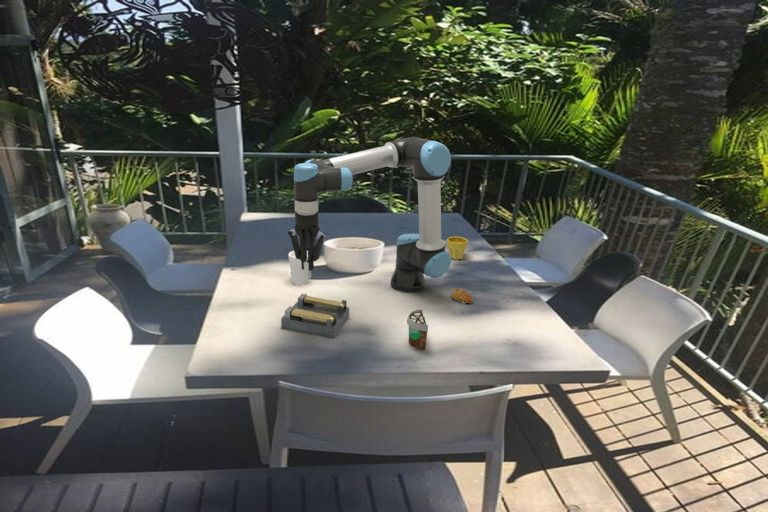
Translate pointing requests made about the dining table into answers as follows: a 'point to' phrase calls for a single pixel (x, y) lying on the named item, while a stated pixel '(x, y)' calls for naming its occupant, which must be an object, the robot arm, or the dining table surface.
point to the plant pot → (457, 247)
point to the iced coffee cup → (417, 329)
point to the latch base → (315, 325)
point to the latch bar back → (323, 302)
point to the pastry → (461, 296)
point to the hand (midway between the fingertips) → (307, 278)
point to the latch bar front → (312, 315)
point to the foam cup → (296, 269)
